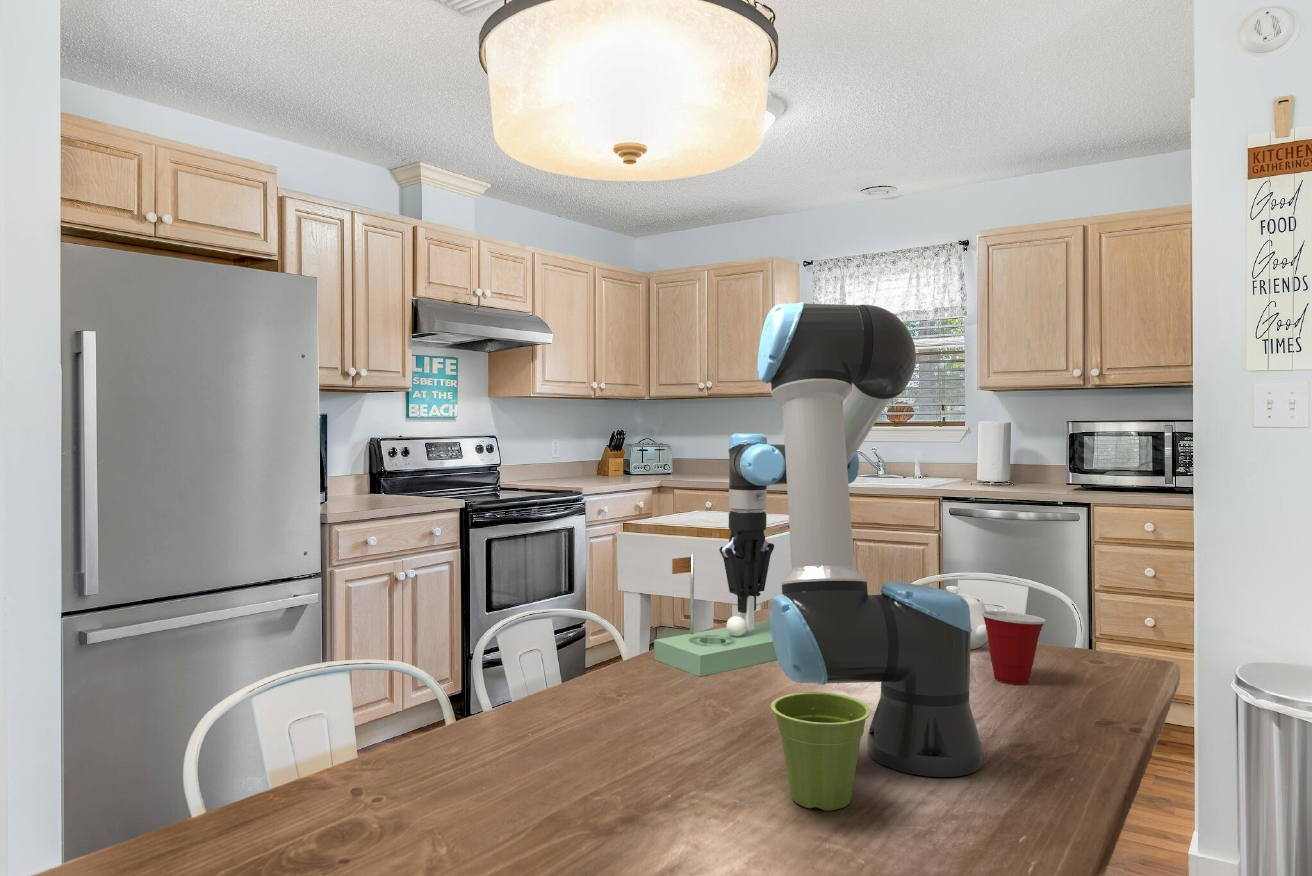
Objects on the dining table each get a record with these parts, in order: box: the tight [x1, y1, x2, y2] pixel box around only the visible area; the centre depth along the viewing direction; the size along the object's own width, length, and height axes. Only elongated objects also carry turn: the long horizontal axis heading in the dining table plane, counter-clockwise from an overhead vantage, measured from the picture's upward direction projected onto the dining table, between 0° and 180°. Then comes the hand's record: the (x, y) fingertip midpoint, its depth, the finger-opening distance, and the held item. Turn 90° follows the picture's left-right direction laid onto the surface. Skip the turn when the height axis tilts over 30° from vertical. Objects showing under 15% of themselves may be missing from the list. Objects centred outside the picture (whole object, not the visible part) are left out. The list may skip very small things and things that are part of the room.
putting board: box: [653, 619, 778, 677], centre depth 169 cm, size 32×14×4 cm, turn 127°
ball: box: [725, 615, 746, 637], centre depth 169 cm, size 4×4×4 cm
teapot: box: [945, 585, 1009, 650], centre depth 179 cm, size 25×16×12 cm, turn 30°
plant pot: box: [770, 691, 871, 812], centre depth 103 cm, size 12×12×11 cm
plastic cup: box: [982, 610, 1047, 686], centre depth 154 cm, size 11×11×12 cm
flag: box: [671, 553, 695, 635], centre depth 169 cm, size 5×1×16 cm, turn 127°
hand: (746, 628), depth 171 cm, fingers closed
